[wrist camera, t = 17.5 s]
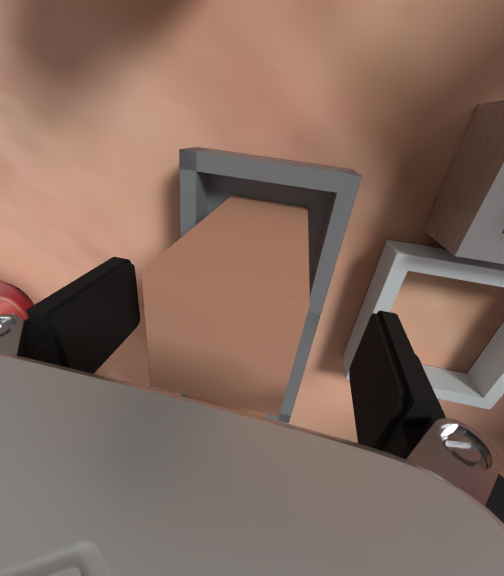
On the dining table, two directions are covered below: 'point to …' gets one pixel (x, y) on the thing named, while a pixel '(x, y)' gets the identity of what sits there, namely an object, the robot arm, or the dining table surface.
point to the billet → (230, 305)
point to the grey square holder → (474, 192)
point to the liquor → (14, 301)
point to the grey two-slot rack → (285, 189)
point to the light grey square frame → (435, 261)
